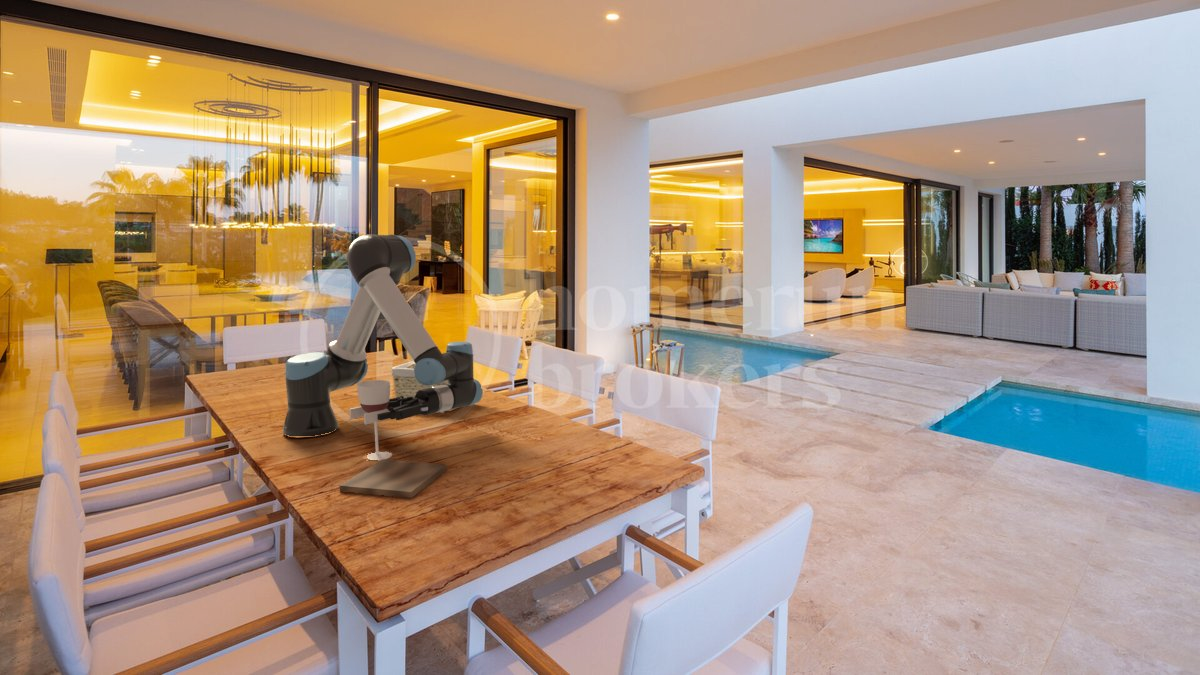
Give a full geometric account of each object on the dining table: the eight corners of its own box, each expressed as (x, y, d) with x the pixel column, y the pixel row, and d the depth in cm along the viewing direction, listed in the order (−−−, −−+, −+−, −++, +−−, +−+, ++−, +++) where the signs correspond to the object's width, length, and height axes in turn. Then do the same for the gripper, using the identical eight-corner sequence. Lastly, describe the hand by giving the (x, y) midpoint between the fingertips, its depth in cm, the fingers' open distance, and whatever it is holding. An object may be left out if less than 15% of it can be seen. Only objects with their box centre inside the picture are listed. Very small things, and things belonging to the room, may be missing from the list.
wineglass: (380, 449, 174) (376, 378, 171) (400, 454, 169) (396, 382, 166) (354, 457, 168) (350, 384, 165) (374, 463, 163) (370, 388, 160)
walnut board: (339, 491, 144) (339, 485, 144) (382, 464, 161) (381, 459, 161) (411, 498, 140) (411, 491, 140) (446, 470, 158) (446, 464, 158)
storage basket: (391, 408, 218) (388, 366, 216) (419, 397, 233) (417, 358, 231) (450, 414, 210) (448, 371, 208) (475, 402, 225) (474, 362, 223)
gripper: (454, 419, 174) (377, 438, 157) (415, 406, 187) (340, 423, 170) (453, 393, 173) (375, 409, 156) (413, 382, 186) (338, 396, 169)
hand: (357, 416), depth 163 cm, fingers closed on wineglass, 7 cm apart
